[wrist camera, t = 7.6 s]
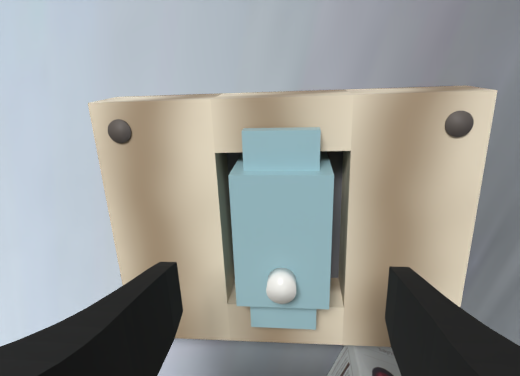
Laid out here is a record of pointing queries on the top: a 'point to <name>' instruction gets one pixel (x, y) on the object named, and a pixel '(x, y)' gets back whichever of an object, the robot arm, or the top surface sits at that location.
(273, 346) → the top surface
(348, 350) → the supplement box
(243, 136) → the servo block
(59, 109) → the top surface
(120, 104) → the plate
